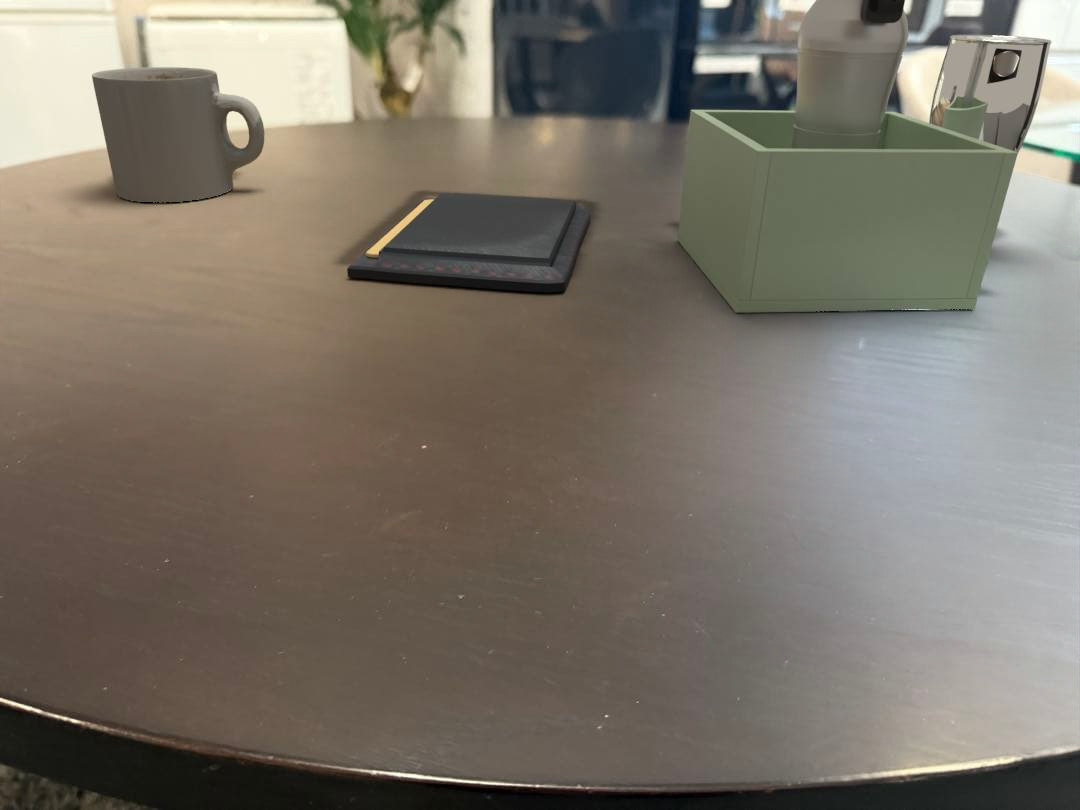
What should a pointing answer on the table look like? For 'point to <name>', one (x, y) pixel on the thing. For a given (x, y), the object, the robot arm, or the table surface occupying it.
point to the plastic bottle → (844, 75)
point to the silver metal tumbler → (990, 87)
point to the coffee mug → (172, 133)
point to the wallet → (480, 244)
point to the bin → (840, 214)
